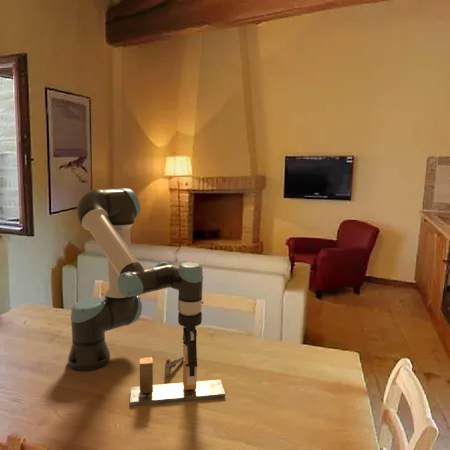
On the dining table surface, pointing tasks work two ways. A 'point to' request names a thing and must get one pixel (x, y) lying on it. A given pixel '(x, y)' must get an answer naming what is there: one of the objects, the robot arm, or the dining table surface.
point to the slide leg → (186, 387)
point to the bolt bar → (170, 389)
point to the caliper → (171, 365)
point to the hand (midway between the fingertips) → (189, 373)
